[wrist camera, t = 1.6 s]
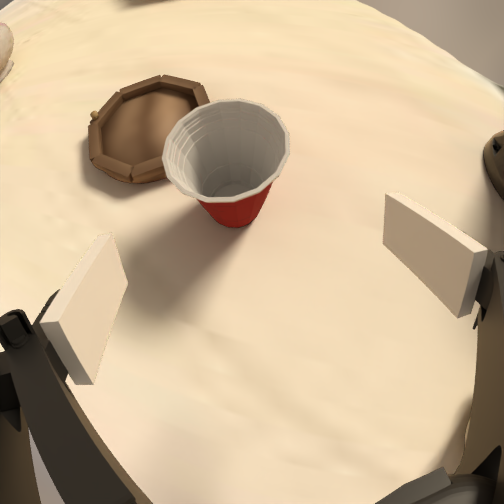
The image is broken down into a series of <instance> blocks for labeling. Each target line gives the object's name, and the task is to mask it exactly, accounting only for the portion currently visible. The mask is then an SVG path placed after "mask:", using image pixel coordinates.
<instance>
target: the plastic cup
mask: <svg viewBox="0 0 504 504" xmlns="http://www.w3.org/2000/svg"><path fill="white" fill-rule="evenodd" d="M289 155H290V138H289V132H288V130H287V128H286V126H285V125H284V123H283V121H282V120H281V118H280V116H279V115H277V114H276V113H274V112H273V111H272V110H270V109H269V108H267V107H266V106H264V105H263V104H260V103H256V102H252V101H248V100H244V99H226V100H217V101H214V102H211V103H208V104H205V105H202V106H200V107H197V108H195V109H194V110H193V111H191V112H190V113H188V114H187V115H186V116H184V117H183V118H182V119H180V120H179V121H178V122H177V124H176V125H175V126H174V128H173V129H172V131H171V132H170V134H169V135H168V136H167V138H166V141H165V146H164V150H163V155H162V161H163V164H164V168H165V172H166V175H167V178H168V179H169V180H170V181H171V182H172V183H173V184H174V185H175V186H176V187H177V188H178V189H179V190H180V191H181V193H183V194H185V195H188V196H190V197H193V198H196V199H197V200H198V201H199V202H200V204H201V205H202V206H203V207H204V208H205V209H206V210H207V211H208V212H209V214H210V215H211V216H212V217H213V218H214V219H215V220H216V221H217V222H218V223H220V224H222V225H224V226H227V227H235V228H239V227H242V226H245V225H247V224H249V223H250V222H251V221H252V220H254V219H255V218H256V217H257V215H258V213H259V211H260V209H261V207H262V205H263V203H264V201H265V199H266V197H267V195H268V193H269V190H270V188H271V185H272V183H273V181H274V180H275V179H276V178H278V177H279V175H280V173H281V171H282V169H283V167H284V165H285V163H286V161H287V159H288V157H289Z"/></svg>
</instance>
